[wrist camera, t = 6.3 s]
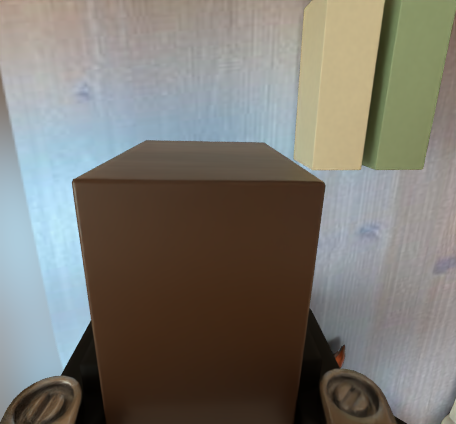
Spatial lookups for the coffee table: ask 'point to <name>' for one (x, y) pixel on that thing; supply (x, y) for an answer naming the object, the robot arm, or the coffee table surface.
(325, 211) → the coffee table surface
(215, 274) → the bar walnut
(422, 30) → the bar sage
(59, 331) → the coffee table surface
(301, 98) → the bar cream
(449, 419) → the knife
